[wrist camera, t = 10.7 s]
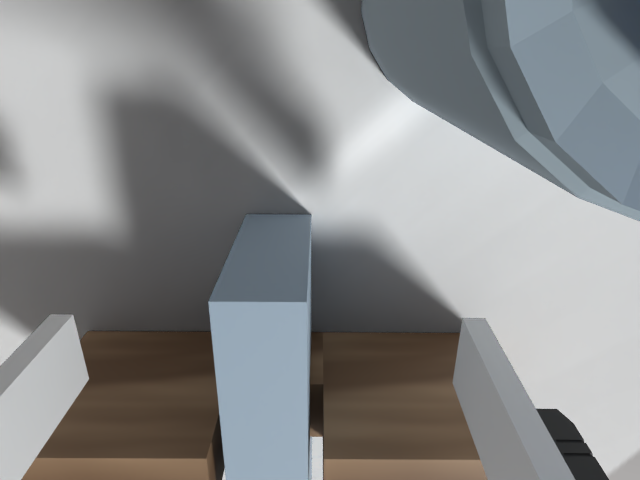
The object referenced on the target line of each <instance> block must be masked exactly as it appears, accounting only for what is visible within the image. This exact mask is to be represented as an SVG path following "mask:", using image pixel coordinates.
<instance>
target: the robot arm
mask: <svg viewBox="0 0 640 480" xmlns="http://www.w3.org/2000/svg"><path fill="white" fill-rule="evenodd" d="M88 380H89V376H88V372H87V368H86V364H85V360H84V356H83V352H82V348H81V344H80V340H79V336H78V332H77V328H76V324H75V320H74V316H73V314H50V315H49V316H48V317H47V318H46V319H45V320H44V321H43V323H42V324H41V325H40V326H39V327H38V328H37V329H36V330H35V331H34V332H33V333H32V334H31V335H30V336H29V337H28V338H27V339H26V340H25V341H24V342H23V343H22V344H21V345H20V346H19V347H18V348H17V349H16V350H15V351H14V352H13V353H12V355H11V356H10V357H9V358H8V359H7V360H6V361H5V362H4V363H3V364H2V365H1V366H0V480H21V479H22V477H23V476H24V475H25V473H26V472H27V470H28V469H29V467H30V466H31V464H32V463H33V461H34V460H35V458H36V457H37V455H38V454H39V452H40V451H41V449H42V448H43V446H44V445H45V443H46V442H47V441H48V439H49V438H50V436H51V435H52V433H53V432H54V430H55V429H56V427H57V426H58V424H59V423H60V421H61V420H62V418H63V417H64V415H65V414H66V412H67V411H68V410H69V408H70V407H71V405H72V404H73V402H74V401H75V399H76V398H77V396H78V395H79V393H80V392H81V390H82V389H83V387H84V386H85V384H86V383H87V381H88ZM453 386H454V388H455V391H456V394H457V397H458V399H459V402H460V405H461V408H462V410H463V413H464V416H465V419H466V421H467V424H468V427H469V430H470V432H471V435H472V438H473V441H474V443H475V446H476V449H477V452H478V454H479V457H480V460H481V463H482V465H483V468H484V471H485V474H486V477H487V479H488V480H609V479H608V477H607V476H606V474H605V473H604V471H603V469H602V468H601V466H600V465H599V463H598V461H597V460H596V458H595V457H593V456H592V452H591V450H590V449H589V447H588V446H587V444H586V443H584V439H583V438H582V436H581V435H580V433H579V431H578V430H577V428H576V427H575V425H574V424H573V423H572V422H571V421H570V420H569V419H568V418H567V417H565V416H564V415H563V414H562V413H561V412H560V411H559V410H557V409H536V408H535V407H534V405H533V403H532V401H531V399H530V398H529V396H528V394H527V392H526V390H525V389H524V387H523V385H522V383H521V381H520V380H519V378H518V376H517V374H516V373H515V371H514V369H513V367H512V365H511V364H510V362H509V360H508V358H507V356H506V355H505V353H504V351H503V349H502V347H501V346H500V344H499V342H498V340H497V338H496V337H495V335H494V333H493V331H492V330H491V328H490V326H489V324H488V322H487V321H486V319H485V318H462V324H461V331H460V337H459V344H458V350H457V357H456V363H455V370H454V376H453Z"/></svg>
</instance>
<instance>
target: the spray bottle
mask: <svg viewBox="0 0 640 480" xmlns="http://www.w3.org/2000/svg"><path fill="white" fill-rule="evenodd" d="M361 13H362V18H363V22H364V27H365V31H366V36H367V40H368V44H369V49H370V51H371V52H372V54H373V56H374V58H375V59H376V61H377V63H378V64H379V66H380V68H381V70H382V71H383V73H384V75H385V76H386V78H387V80H389V81H390V82H391V83H392V84H393V85H394V86H395V87H397V88H398V89H399V90H400V91H401V92H402V93H404V94H405V95H406V96H407V97H408V98H409V99H410V100H412V101H413V102H415V103H416V104H418V105H420V106H422V107H423V108H425V109H427V110H428V111H430V112H432V113H434V114H435V115H437V116H439V117H440V118H442V119H444V120H446V121H447V122H449V123H451V124H452V125H454V126H456V127H458V128H459V129H461V130H463V131H464V132H466V133H468V134H470V135H471V136H473V137H475V138H476V139H478V140H480V141H482V142H483V143H485V144H487V145H488V146H490V147H492V148H494V149H495V150H497V151H499V152H500V153H502V154H504V155H506V156H507V157H509V158H511V159H512V160H514V161H516V162H518V163H519V164H521V165H523V166H524V167H526V168H528V169H530V170H531V171H533V172H535V173H536V174H538V175H540V176H542V177H543V178H545V179H547V180H548V181H550V182H552V183H554V184H555V185H557V186H559V187H560V188H562V189H564V190H566V191H567V192H569V193H571V194H572V195H574V196H576V197H578V198H580V199H583V200H585V201H588V202H590V203H593V204H596V205H598V206H601V207H604V208H606V209H609V210H611V211H614V212H617V213H619V214H622V215H624V216H627V217H630V218H632V219H635V220H638V221H640V0H362V8H361Z"/></svg>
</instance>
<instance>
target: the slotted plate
mask: <svg viewBox="0 0 640 480" xmlns="http://www.w3.org/2000/svg"><path fill="white" fill-rule="evenodd" d="M208 304H209V314H210V324H211V334H212V344H213V354H214V364H215V374H216V384H217V395H218V405H219V415H220V425H221V435H222V445H223V455H224V465H225V475H226V480H312V437H310V355H311V214H246V216H245V218H244V221H243V223H242V225H241V227H240V230H239V232H238V234H237V237H236V239H235V241H234V244H233V246H232V248H231V250H230V253H229V255H228V257H227V260H226V262H225V264H224V267H223V269H222V271H221V274H220V276H219V278H218V280H217V283H216V285H215V287H214V290H213V292H212V294H211V297H210V299H209V301H208Z"/></svg>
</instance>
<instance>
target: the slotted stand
mask: <svg viewBox="0 0 640 480" xmlns="http://www.w3.org/2000/svg"><path fill="white" fill-rule="evenodd" d="M459 337H460V333H376V332H311V355H310V437H323V480H488V479H487V477H486V474H485V471H484V468H483V465H482V463H481V460H480V457H479V454H478V452H477V449H476V446H475V443H474V441H473V438H472V435H471V432H470V430H469V427H468V424H467V421H466V419H465V416H464V413H463V410H462V408H461V405H460V402H459V399H458V397H457V394H456V391H455V388H454V386H453V376H454V370H455V363H456V357H457V350H458V344H459ZM80 344H81V348H82V352H83V356H84V360H85V364H86V368H87V372H88V376H89V380H88V381H87V383H86V384H85V386H84V387H83V389H82V390H81V392H80V393H79V395H78V396H77V398H76V399H75V401H74V402H73V404H72V405H71V407H70V408H69V410H68V411H67V412H66V414H65V415H64V417H63V418H62V420H61V421H60V423H59V424H58V426H57V427H56V429H55V430H54V432H53V433H52V435H51V436H50V438H49V439H48V441H47V442H46V443H45V445H44V446H43V448H42V449H41V451H40V452H39V454H38V455H37V457H36V458H35V460H34V461H33V463H32V464H31V466H30V467H29V469H28V470H27V472H26V473H25V475H24V476H23V477H22V479H21V480H222V477H223V472H224V468H225V465H224V455H223V445H222V435H221V425H220V415H219V405H218V395H217V384H216V374H215V364H214V354H213V344H212V334H211V332H160V331H88V332H87V333H86V334H85V335H84V336H83V338H82V339H81V340H80Z"/></svg>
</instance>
